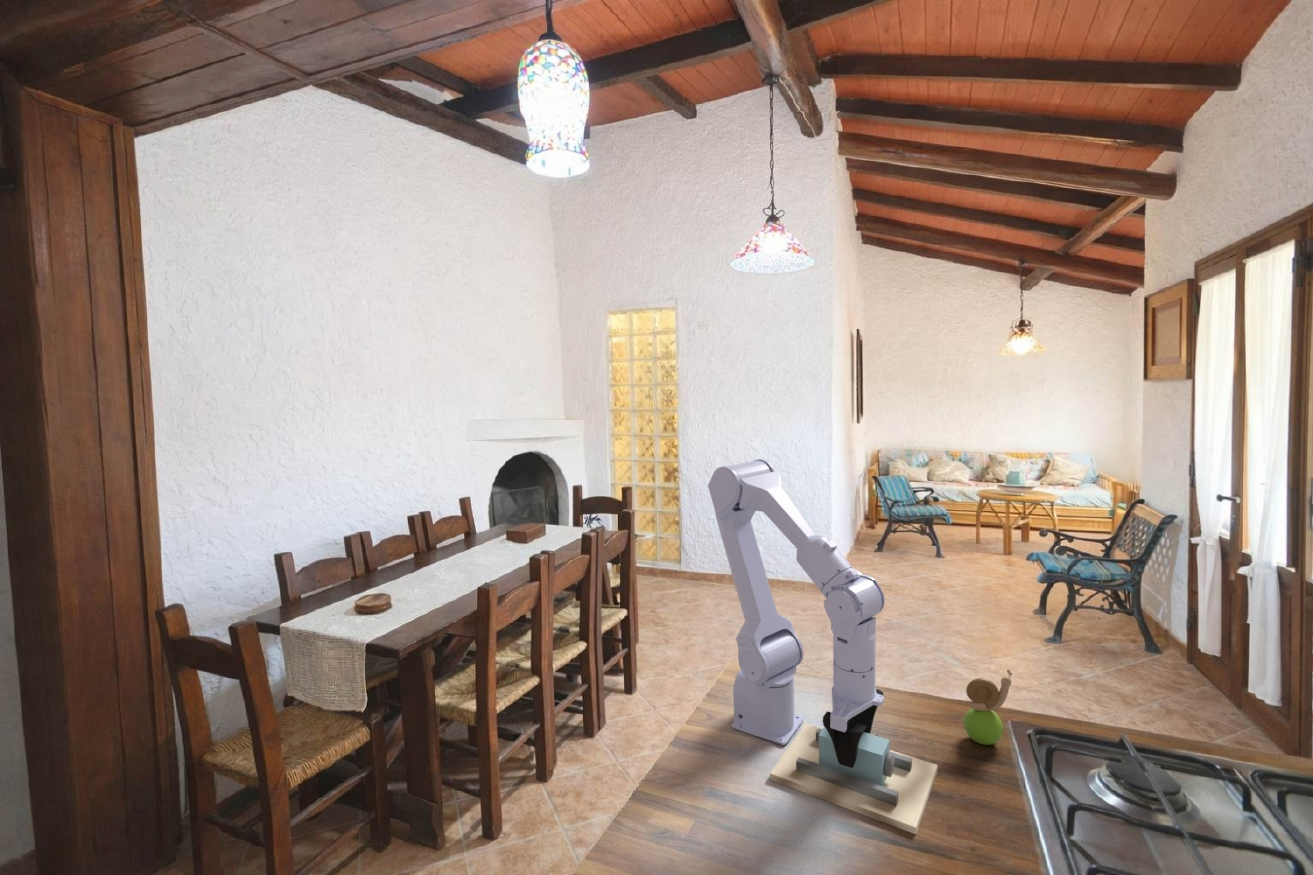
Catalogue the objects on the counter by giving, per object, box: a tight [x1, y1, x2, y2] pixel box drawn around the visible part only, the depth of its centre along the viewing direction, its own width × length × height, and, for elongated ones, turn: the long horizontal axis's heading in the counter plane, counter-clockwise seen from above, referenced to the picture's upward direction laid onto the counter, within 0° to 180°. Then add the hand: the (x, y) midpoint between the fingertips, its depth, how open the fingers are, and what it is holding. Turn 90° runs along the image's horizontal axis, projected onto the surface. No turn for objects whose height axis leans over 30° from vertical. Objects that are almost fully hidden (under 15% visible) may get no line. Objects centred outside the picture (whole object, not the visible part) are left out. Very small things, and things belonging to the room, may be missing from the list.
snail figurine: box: [963, 669, 1013, 746], centre depth 96 cm, size 5×6×12 cm
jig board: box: [769, 723, 939, 835], centre depth 91 cm, size 20×14×2 cm
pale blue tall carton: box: [819, 726, 895, 786], centre depth 90 cm, size 10×4×5 cm, turn 56°
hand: (853, 750), depth 90 cm, fingers open, 6 cm apart
